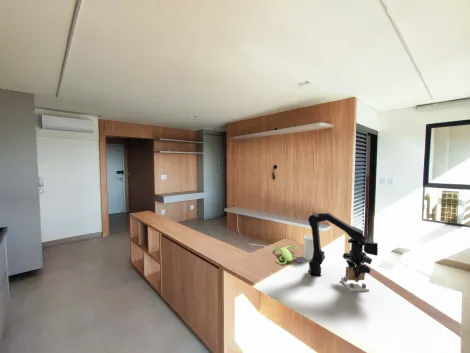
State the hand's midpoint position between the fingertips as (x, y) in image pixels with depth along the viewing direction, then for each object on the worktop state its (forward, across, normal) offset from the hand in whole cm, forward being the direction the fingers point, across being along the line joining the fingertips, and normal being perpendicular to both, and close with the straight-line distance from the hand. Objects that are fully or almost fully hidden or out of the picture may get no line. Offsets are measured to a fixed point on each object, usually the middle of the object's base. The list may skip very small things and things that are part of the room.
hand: (354, 276), depth 128 cm
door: (+1, 0, 0) cm, 1 cm away
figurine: (+7, +37, +31) cm, 49 cm away
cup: (+6, +35, +15) cm, 38 cm away
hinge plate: (+6, 0, 0) cm, 6 cm away
